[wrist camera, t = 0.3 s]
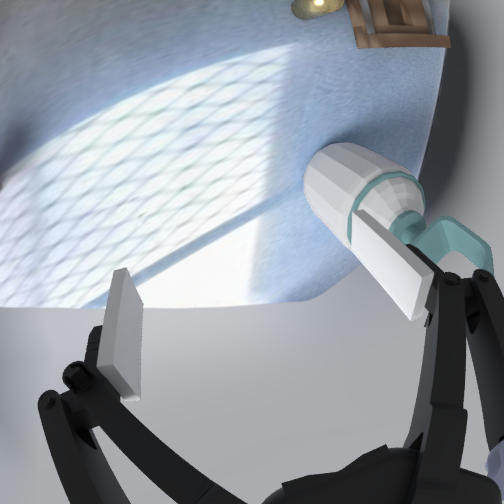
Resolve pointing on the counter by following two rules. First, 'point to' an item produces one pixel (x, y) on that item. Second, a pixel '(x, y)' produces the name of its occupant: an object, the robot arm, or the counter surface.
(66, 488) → the robot arm
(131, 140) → the counter surface
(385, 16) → the housing base
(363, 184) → the soap bottle
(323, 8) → the brass peg
